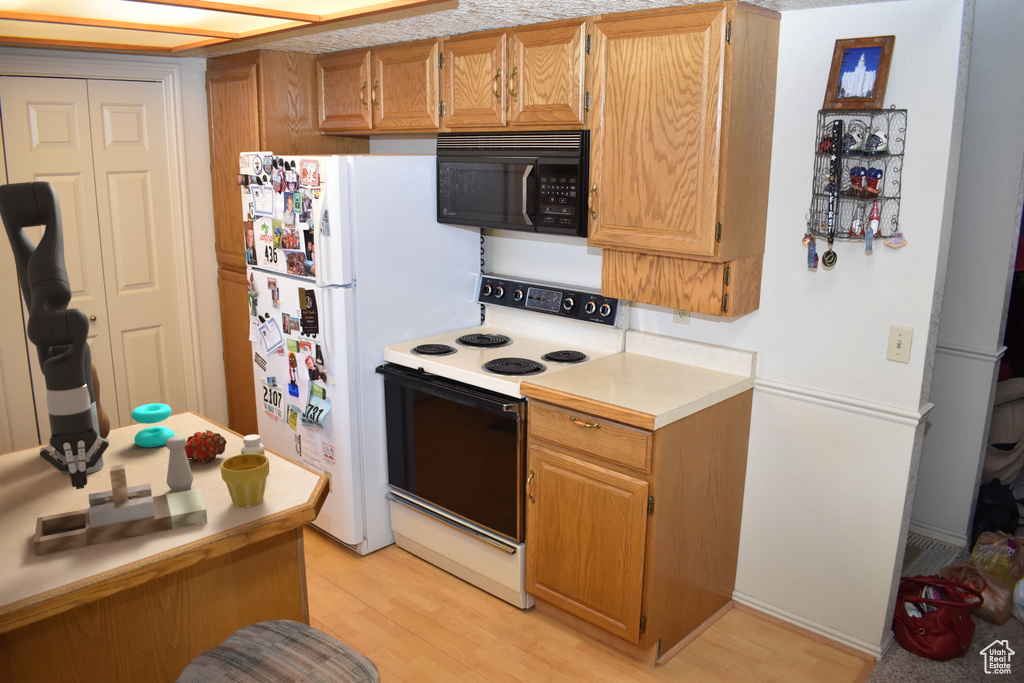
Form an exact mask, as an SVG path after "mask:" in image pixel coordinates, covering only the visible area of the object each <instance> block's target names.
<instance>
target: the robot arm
mask: <svg viewBox="0 0 1024 683" xmlns="http://www.w3.org/2000/svg"><path fill="white" fill-rule="evenodd" d="M60 205H61V204H60V201H59V197H58V194H57V191H56V189H55V187H54V185H53V184H52V183H50V182H49V181H44V180H43V181H28V182H26V181H25V182H16V183H15V182H14V183H5V184H1V185H0V218H1V222H2V225H3V227H4V230H5V232H6V236H7V238H8V241H9V245H10V247H11V250H12V254H13V257H14V263H15V267H16V271H17V276H18V280H19V285H20V289H21V292H22V296H23V300H24V303H25V305H26V306H25V307H26V309H27V313H28V320H27V324H26V325H27V326H26V327H27V328H26V333H27V337H28V339H29V341H30V342H31V343H32V345H34V346H35V348H36V354H37V360H38V363H39V367H40V371H41V373H42V375H43V377H44V381H45V387H46V405H47V407H46V408H47V411H48V412H47V413H48V418H49V419H48V420H49V426H50V433H51V434H50V437H49V443H48V444H47V445H46V446H44V447H41V448H40V449H39V450H40V451H39V456H40V458H42V459H43V460H45V461H46V462H47V463H49V464H50V465H52V467H54V468H55V469H57V470H58V472H61V473H62V474H64V475H66V476H69V477H70V482H71V486H72V488H75V489H76V490H80V489H85V486H87V485H88V474H91V473H95V472H97V471H99V470H100V469H102V468H103V467H104V458H103V455H104V453H105V452H106V450H107V449H108V448H109V446H110V442H109V439H108V438H106V439H103V438H101V437H100V433H99V425H98V417H97V410H96V402H95V395H94V387H93V379H92V365H91V362H92V353H91V348H90V344H89V343H88V341H87V340H88V337H89V331H90V321H89V318H88V316H87V315H86V313H85V312H84V311H83V310H81V309H79V308H73V307H72V308H68V307H69V304H70V302H71V300H72V290H71V286H70V281H69V276H68V273H67V272H68V271H67V268H66V262H65V247H64V246H65V245H64V232H63V231H64V230H63V220H62V219H63V218H62V211H61V206H60ZM41 226H45V228H44V233H43V235H42V237H41V240H40V241H39V243H38V244H36V243H35V242H34V241H33V239H31V238H30V237H29V235H28V234H27V232H26V231H25V229H24V228H32V227H41ZM55 450H56V452H57V453H56V454H57V455H55Z"/></svg>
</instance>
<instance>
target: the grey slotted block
mask: <svg viewBox="0 0 1024 683" xmlns="http://www.w3.org/2000/svg"><path fill="white" fill-rule="evenodd" d="M151 486H152V485H151V483H146V484H139V485H135V486H134V485H133V486H130V487H128V486H127V491H128V497H133V496H137V499H132V500H127V501H121V502H116V503H110V504H106V502H105V501H110V500H113V493H112V489H111V490H106V491H101V492H100V491H99V492H95V493H89V494H88V504H89V507H88V508H89V518H90V525H91V529H97V528H102V527H107V526H112V525H118V524H123V523H128V522H133V521H138V520H144V519H149V518H154V517H155V510H154V502H153V497H154V496H153V495H152V487H151Z"/></svg>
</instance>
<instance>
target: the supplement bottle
mask: <svg viewBox="0 0 1024 683" xmlns="http://www.w3.org/2000/svg"><path fill="white" fill-rule="evenodd" d="M242 439H243V446H242V447H241V450H240V453H241V454H248V453H255V454H262V455H264V456H266V455H265V446H264V445H263V444H262V443H261V442H262V440H261V436H260V435H258V434H248V435H247V434H246V435H245V436H244V437H243V438H242Z"/></svg>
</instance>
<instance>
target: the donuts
mask: <svg viewBox="0 0 1024 683" xmlns="http://www.w3.org/2000/svg"><path fill="white" fill-rule="evenodd" d="M171 414H172V408H171V406H170V405H168V404H166V403H148V404H143V405H140V406H138V407H135V408H134V409H133V410H132V412H131V414H130V415H131V418H132V419H133V420H132V421H135V422H136V423H139V424H144V425H145V424H157V423H160V422H161V423H162V422H163V421H166V420H167V419H168V418H169V417H171ZM174 436H175V433H174V431H173V429H171V428H169V427H166V426H160V425H159V426H157V425H156V426H149V427H146V428H143V429H142V430H140V431H138V432H137V433H136V434H135V435H134V443H135V445H137V446H139V447H142V448H157V446H158V447H161V446H164V445H166V441H167V440H168V439H169V438H171V437H174Z"/></svg>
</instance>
